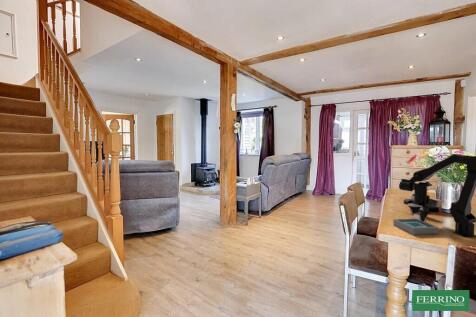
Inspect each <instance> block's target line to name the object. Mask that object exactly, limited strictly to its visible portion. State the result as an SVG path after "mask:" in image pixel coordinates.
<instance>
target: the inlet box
mask: <svg viewBox="0 0 476 317" xmlns="http://www.w3.org/2000/svg"><path fill="white" fill-rule="evenodd" d="M393 226H394V227H395V228H398V229H400V230H402V231H404V232H406V233H408V234H409V235H412V236H427V235H431V236H432V235H434V236H435V235H439V227H438V226H436V225H434V224H431V223H429V222H427V221H426V222H424V221H421V220H419V219H417V218H415V219H414V218H393Z"/></svg>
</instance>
